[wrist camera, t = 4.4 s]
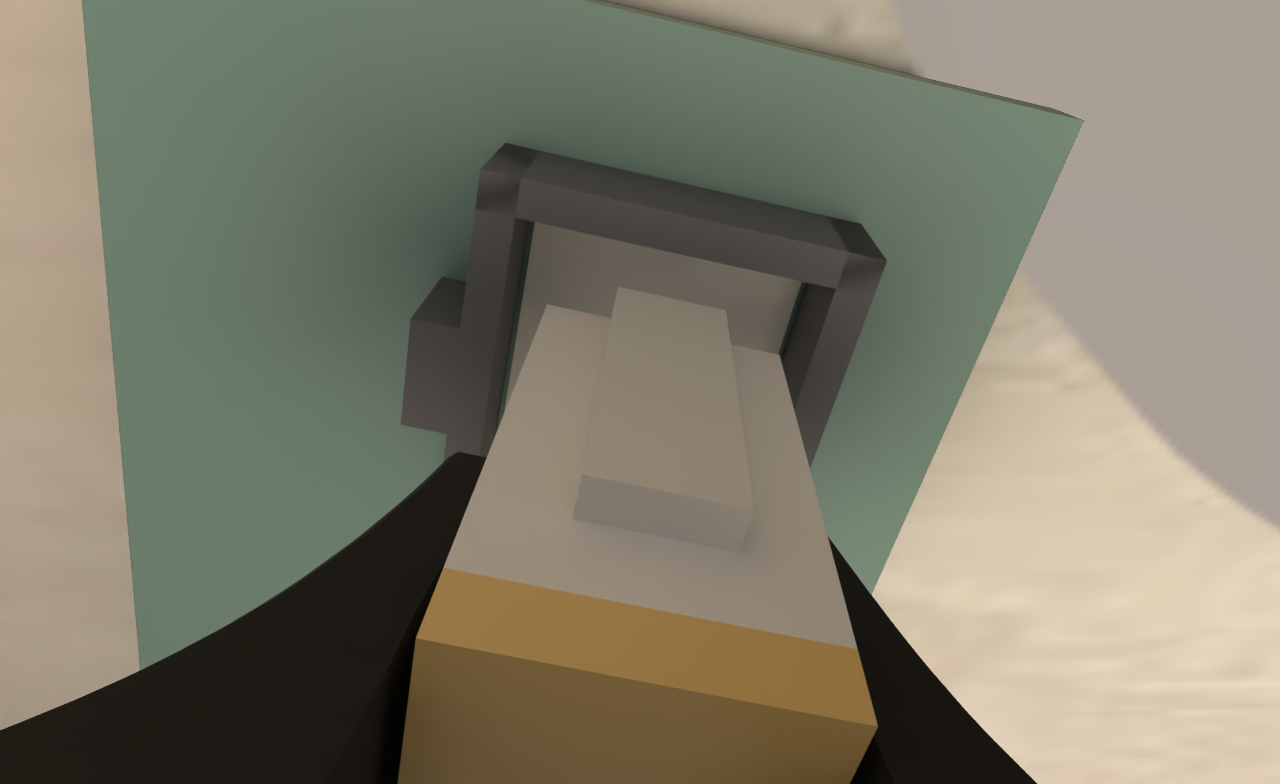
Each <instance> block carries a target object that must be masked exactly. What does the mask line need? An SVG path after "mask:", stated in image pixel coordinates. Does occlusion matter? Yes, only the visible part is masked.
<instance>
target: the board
mask: <svg viewBox="0 0 1280 784" xmlns="http://www.w3.org/2000/svg"><path fill="white" fill-rule="evenodd" d="M82 7H83V18H84V30H85V41H86V53H87V64H88V75H89V87H90V98H91V110H92V121H93V133H94V144H95V156H96V167H97V179H98V190H99V201H100V213H101V224H102V236H103V247H104V259H105V270H106V282H107V293H108V305H109V316H110V327H111V339H112V350H113V362H114V373H115V385H116V396H117V408H118V419H119V431H120V442H121V453H122V465H123V476H124V488H125V499H126V511H127V522H128V534H129V545H130V556H131V568H132V579H133V591H134V602H135V614H136V625H137V637H138V648H139V660H140V670H142V669H144V668H146V667H148V666H150V665H152V664H154V663H156V662H158V661H160V660H162V659H164V658H166V657H168V656H170V655H172V654H174V653H176V652H178V651H180V650H182V649H183V648H185V647H187V646H189V645H191V644H193V643H195V642H196V641H198V640H200V639H202V638H204V637H206V636H208V635H210V634H211V633H213V632H215V631H217V630H219V629H221V628H222V627H224V626H226V625H228V624H229V623H231V622H233V621H235V620H236V619H238V618H240V617H241V616H243V615H245V614H246V613H248V612H250V611H251V610H253V609H255V608H256V607H258V606H260V605H261V604H263V603H265V602H266V601H268V600H269V599H271V598H272V597H274V596H276V595H277V594H279V593H280V592H282V591H283V590H285V589H286V588H288V587H289V586H291V585H292V584H294V583H295V582H297V581H298V580H300V579H301V578H303V577H304V576H306V575H307V574H308V573H310V572H311V571H313V570H314V569H315V568H317V567H318V566H320V565H321V564H322V563H324V562H325V561H326V560H328V559H329V558H331V557H332V556H333V555H335V554H336V553H337V552H339V551H340V550H342V549H343V548H344V547H346V546H347V545H349V544H350V543H351V542H353V541H354V540H355V539H356V538H358V537H359V536H360V535H362V534H363V533H364V532H365V531H366V530H368V529H369V528H370V527H371V526H372V525H374V524H375V523H376V522H377V521H379V520H380V519H381V518H382V517H383V516H385V515H386V514H387V513H388V512H390V511H391V510H392V509H393V508H394V507H396V506H397V505H398V504H399V503H400V502H401V501H402V500H404V499H405V498H406V497H407V496H408V495H409V494H410V493H411V492H413V491H414V490H415V489H416V488H417V487H418V486H419V485H420V484H421V483H423V482H424V481H425V480H426V479H427V478H428V477H429V476H430V475H431V474H432V473H433V472H434V471H435V470H436V469H437V468H438V467H439V466H440V465H441V464H442V463H443V462H444V461H445V460H446V459H447V458H448V457H450V456H451V455H453V454H455V453H457V452H463V453H467V454H472V455H477V456H482V457H487V456H488V453H489V451H490V448H491V446H492V443H493V440H494V438H495V435H496V433H497V430H498V428H499V425H500V423H501V420H502V418H503V415H504V413H505V410H506V407H507V405H508V402H509V400H510V397H511V395H512V392H513V390H514V387H515V385H516V382H517V379H518V377H519V374H520V372H521V369H522V367H523V364H524V362H525V359H526V357H527V354H528V351H529V349H530V346H531V344H532V341H533V339H534V336H535V334H536V331H537V329H538V326H539V323H540V321H541V318H542V316H543V313H544V311H545V308H546V306H547V304H548V305H553V306H558V307H562V308H567V309H571V310H576V311H581V312H585V313H590V314H594V315H599V316H603V317H608V318H611V316H612V311H613V306H614V302H615V297H616V293H617V288H618V287H622V288H627V289H632V290H636V291H641V292H645V293H650V294H654V295H659V296H663V297H668V298H672V299H677V300H681V301H686V302H690V303H695V304H700V305H704V306H709V307H713V308H718V309H722V310H726V314H727V321H728V328H729V335H730V342H731V344H732V345H737V346H741V347H746V348H750V349H755V350H759V351H764V352H769V353H773V354H778V355H780V359H781V362H782V366H783V370H784V374H785V377H786V381H787V385H788V389H789V392H790V396H791V400H792V404H793V408H794V411H795V415H796V419H797V423H798V426H799V430H800V434H801V438H802V442H803V445H804V449H805V453H806V457H807V460H808V464H809V468H810V472H811V475H812V479H813V483H814V487H815V491H816V494H817V498H818V502H819V506H820V509H821V513H822V517H823V521H824V525H825V528H826V532H827V536H828V537H829V538H830V540H831V541H832V542H833V544H834V545H835V546H836V548H837V549H838V550H839V552H840V553H841V554H842V556H843V557H844V558H845V560H846V561H847V563H848V564H849V565H850V567H851V568H852V569H853V571H854V572H855V574H856V575H857V576H858V578H859V579H860V580H861V582H862V583H863V584H864V586H865V587H866V588H867V590H868V591H869V592H870V594H872V592H873V590H874V588H875V585H876V583H877V581H878V579H879V576H880V574H881V572H882V570H883V568H884V565H885V563H886V561H887V559H888V556H889V554H890V552H891V550H892V547H893V545H894V543H895V541H896V539H897V536H898V534H899V532H900V530H901V527H902V525H903V523H904V521H905V518H906V516H907V514H908V512H909V510H910V507H911V505H912V503H913V501H914V498H915V496H916V494H917V492H918V489H919V487H920V485H921V483H922V481H923V478H924V476H925V474H926V472H927V469H928V467H929V465H930V463H931V460H932V458H933V456H934V454H935V452H936V449H937V447H938V445H939V443H940V440H941V438H942V436H943V434H944V432H945V429H946V427H947V425H948V423H949V420H950V418H951V416H952V414H953V411H954V409H955V407H956V405H957V403H958V400H959V398H960V396H961V394H962V391H963V389H964V387H965V385H966V382H967V380H968V378H969V376H970V374H971V371H972V369H973V367H974V365H975V362H976V360H977V358H978V356H979V353H980V351H981V349H982V347H983V345H984V342H985V340H986V338H987V336H988V333H989V331H990V329H991V327H992V324H993V322H994V320H995V318H996V316H997V313H998V311H999V309H1000V307H1001V304H1002V302H1003V300H1004V298H1005V295H1006V293H1007V291H1008V289H1009V287H1010V284H1011V282H1012V280H1013V278H1014V275H1015V273H1016V271H1017V269H1018V266H1019V264H1020V262H1021V260H1022V258H1023V255H1024V253H1025V251H1026V249H1027V246H1028V244H1029V242H1030V240H1031V237H1032V235H1033V233H1034V231H1035V229H1036V226H1037V224H1038V222H1039V219H1040V217H1041V215H1042V213H1043V211H1044V208H1045V206H1046V204H1047V202H1048V200H1049V197H1050V195H1051V193H1052V191H1053V188H1054V186H1055V184H1056V182H1057V179H1058V177H1059V175H1060V173H1061V171H1062V168H1063V166H1064V164H1065V162H1066V159H1067V157H1068V155H1069V153H1070V151H1071V148H1072V146H1073V144H1074V141H1075V139H1076V137H1077V135H1078V133H1079V130H1080V128H1081V126H1082V124H1083V121H1084V120H1081V119H1078V118H1076V117H1074V116H1071V115H1068V114H1065V113H1063V112H1061V111H1058V110H1055V109H1052V108H1048V107H1044V106H1040V105H1036V104H1031V103H1027V102H1023V101H1019V100H1015V99H1011V98H1006V97H1002V96H998V95H994V94H990V93H985V92H981V91H977V90H973V89H969V88H965V87H961V86H956V85H952V84H948V83H944V82H940V81H936V80H931V79H927V78H923V77H919V76H915V75H911V74H907V73H902V72H898V71H894V70H890V69H886V68H882V67H877V66H873V65H869V64H865V63H861V62H857V61H852V60H848V59H844V58H840V57H836V56H832V55H827V54H823V53H819V52H815V51H811V50H807V49H802V48H798V47H794V46H790V45H786V44H782V43H777V42H773V41H769V40H765V39H761V38H757V37H752V36H748V35H744V34H740V33H736V32H732V31H728V30H723V29H719V28H715V27H711V26H707V25H703V24H698V23H694V22H690V21H686V20H682V19H678V18H673V17H669V16H665V15H661V14H657V13H653V12H648V11H644V10H640V9H636V8H632V7H628V6H623V5H619V4H615V3H611V2H607V1H603V0H82Z"/></svg>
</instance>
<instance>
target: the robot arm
mask: <svg viewBox="0 0 1280 784" xmlns="http://www.w3.org/2000/svg"><path fill="white" fill-rule="evenodd" d="M486 458H487V457H482V456H477V455H472V454H467V453H463V452H457V453H455V454H453V455H451V456H450V457H448V458H447V459H446V460H445V461H444V462H443V463H442V464H441V465H440V466H439V467H438V468H437V469H436V470H435V471H434V472H433V473H432V474H431V475H430V476H429V477H428V478H427V479H426V480H425V481H424V482H423V483H421V484H420V485H419V486H418V487H417V488H416V489H415V490H414V491H413V492H411V493H410V494H409V495H408V496H407V497H406V498H405V499H404V500H402V501H401V502H400V503H399V504H398V505H397V506H396V507H394V508H393V509H392V510H391V511H390V512H388V513H387V514H386V515H385V516H383V517H382V518H381V519H380V520H379V521H377V522H376V523H375V524H374V525H372V526H371V527H370V528H369V529H368V530H366V531H365V532H364V533H363V534H362V535H360V536H359V537H358V538H356V539H355V540H354V541H353V542H351V543H350V544H349V545H347V546H346V547H344V548H343V549H342V550H340V551H339V552H337V553H336V554H335V555H333V556H332V557H331V558H329V559H328V560H326V561H325V562H324V563H322V564H321V565H320V566H318V567H317V568H315V569H314V570H313V571H311V572H310V573H308V574H307V575H306V576H304V577H303V578H301V579H300V580H298V581H297V582H295V583H294V584H292V585H291V586H289V587H288V588H286V589H285V590H283V591H282V592H280V593H279V594H277V595H276V596H274V597H272V598H271V599H269V600H268V601H266V602H265V603H263V604H261V605H260V606H258V607H256V608H255V609H253V610H251V611H250V612H248V613H246V614H245V615H243V616H241V617H240V618H238V619H236V620H235V621H233V622H231V623H229V624H228V625H226V626H224V627H222V628H221V629H219V630H217V631H215V632H213V633H211V634H210V635H208V636H206V637H204V638H202V639H200V640H198V641H196V642H195V643H193V644H191V645H189V646H187V647H185V648H183V649H182V650H180V651H178V652H176V653H174V654H172V655H170V656H168V657H166V658H164V659H162V660H160V661H158V662H156V663H154V664H152V665H150V666H148V667H146V668H144V669H142V670H140V671H138V672H136V673H134V674H132V675H130V676H128V677H126V678H123V679H121V680H119V681H117V682H115V683H112V684H110V685H108V686H106V687H103V688H101V689H99V690H96V691H94V692H92V693H90V694H87V695H85V696H83V697H81V698H78V699H76V700H74V701H71V702H69V703H67V704H64V705H62V706H59V707H57V708H54V709H52V710H50V711H47V712H45V713H42V714H40V715H37V716H35V717H33V718H30V719H28V720H25V721H23V722H20V723H18V724H15V725H13V726H10V727H8V728H5V729H2V730H0V784H398V777H399V769H400V761H401V753H402V745H403V737H404V729H405V721H406V713H407V705H408V697H409V689H410V681H411V673H412V665H413V657H414V649H415V641H416V636H417V634H418V631H419V629H420V626H421V624H422V621H423V619H424V616H425V613H426V611H427V608H428V606H429V603H430V601H431V598H432V596H433V593H434V591H435V588H436V585H437V583H438V580H439V578H440V575H441V573H442V570H443V568H444V565H445V563H446V560H447V557H448V555H449V552H450V550H451V547H452V545H453V542H454V540H455V537H456V535H457V532H458V530H459V527H460V524H461V522H462V519H463V517H464V514H465V512H466V509H467V507H468V504H469V502H470V499H471V496H472V494H473V491H474V489H475V486H476V484H477V481H478V479H479V476H480V474H481V471H482V468H483V466H484V463H485V461H486ZM828 540H829V543H830V547H831V551H832V555H833V558H834V562H835V566H836V570H837V574H838V577H839V581H840V585H841V589H842V592H843V596H844V600H845V604H846V608H847V611H848V615H849V619H850V623H851V626H852V630H853V634H854V638H855V642H856V645H857V649H858V653H859V657H860V660H861V664H862V668H863V672H864V675H865V679H866V683H867V687H868V691H869V694H870V698H871V702H872V706H873V709H874V713H875V717H876V721H877V725H878V728H877V730H876V732H875V734H874V736H873V738H872V740H871V742H870V744H869V746H868V748H867V750H866V752H865V754H864V756H863V758H862V760H861V762H860V764H859V766H858V768H857V770H856V772H855V774H854V776H853V778H852V780H851V782H850V784H1037V783H1036V782H1035V781H1034V780H1033V779H1032V778H1031V777H1030V776H1029V775H1028V774H1027V773H1026V772H1025V771H1024V770H1023V769H1022V768H1021V767H1020V766H1019V765H1018V764H1017V763H1016V762H1015V761H1014V760H1013V759H1012V758H1011V757H1010V756H1009V755H1008V754H1007V753H1006V752H1005V751H1004V750H1003V749H1002V748H1001V747H1000V746H999V745H998V744H997V743H996V742H995V741H994V740H993V739H992V738H991V737H990V736H989V735H988V734H987V733H986V732H985V731H984V730H983V729H982V728H981V726H980V725H979V724H978V723H977V722H976V721H975V720H974V719H973V718H972V717H971V716H970V715H969V714H968V712H967V711H966V710H965V709H964V708H963V707H962V706H961V705H960V703H959V702H958V701H957V700H956V699H955V698H954V697H953V695H952V694H951V693H950V692H949V691H948V690H947V688H946V687H945V686H944V685H943V684H942V683H941V682H940V680H939V679H938V678H937V677H936V676H935V675H934V674H933V672H932V671H931V670H930V669H929V668H928V666H927V665H926V664H925V663H924V662H923V660H922V659H921V658H920V657H919V656H918V654H917V653H916V652H915V651H914V649H913V648H912V647H911V646H910V644H909V643H908V642H907V641H906V639H905V638H904V637H903V636H902V634H901V633H900V632H899V631H898V629H897V628H896V627H895V625H894V624H893V623H892V622H891V620H890V619H889V618H888V616H887V615H886V614H885V612H884V611H883V610H882V608H881V607H880V606H879V604H878V603H877V602H876V601H875V599H874V598H873V597H872V595H871V594H870V592H869V591H868V590H867V588H866V587H865V586H864V584H863V583H862V582H861V580H860V579H859V578H858V576H857V575H856V574H855V572H854V571H853V569H852V568H851V567H850V565H849V564H848V563H847V561H846V560H845V558H844V557H843V556H842V554H841V553H840V552H839V550H838V549H837V548H836V546H835V545H834V544H833V542H832V541H831V540H830V538H829V537H828Z"/></svg>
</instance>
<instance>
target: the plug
mask: <svg viewBox="0 0 1280 784" xmlns="http://www.w3.org/2000/svg"><path fill="white" fill-rule="evenodd" d="M877 728H878V725H877V721H876V717H875V713H874V709H873V706H872V702H871V698H870V694H869V691H868V687H867V683H866V679H865V675H864V672H863V668H862V664H861V660H860V657H859V653H858V649H857V645H856V642H855V638H854V634H853V630H852V626H851V623H850V619H849V615H848V611H847V608H846V604H845V600H844V596H843V592H842V589H841V585H840V581H839V577H838V574H837V570H836V566H835V562H834V558H833V555H832V551H831V547H830V543H829V540H828V536H827V532H826V528H825V525H824V521H823V517H822V513H821V509H820V506H819V502H818V498H817V494H816V491H815V487H814V483H813V479H812V475H811V472H810V468H809V464H808V460H807V457H806V453H805V449H804V445H803V442H802V438H801V434H800V430H799V426H798V423H797V419H796V415H795V411H794V408H793V404H792V400H791V396H790V392H789V389H788V385H787V381H786V377H785V374H784V370H783V366H782V362H781V359H780V355H778V354H773V353H769V352H764V351H759V350H755V349H750V348H746V347H741V346H737V345H732V344H731V342H730V335H729V328H728V321H727V314H726V310H722V309H718V308H713V307H709V306H704V305H700V304H695V303H690V302H686V301H681V300H677V299H672V298H668V297H663V296H659V295H654V294H650V293H645V292H641V291H636V290H632V289H627V288H622V287H618V288H617V293H616V297H615V302H614V306H613V311H612V316H611V318H608V317H603V316H599V315H594V314H590V313H585V312H581V311H576V310H571V309H567V308H562V307H558V306H553V305H548V304H547V306H546V308H545V311H544V313H543V316H542V318H541V321H540V323H539V326H538V329H537V331H536V334H535V336H534V339H533V341H532V344H531V346H530V349H529V351H528V354H527V357H526V359H525V362H524V364H523V367H522V369H521V372H520V374H519V377H518V379H517V382H516V385H515V387H514V390H513V392H512V395H511V397H510V400H509V402H508V405H507V407H506V410H505V413H504V415H503V418H502V420H501V423H500V425H499V428H498V430H497V433H496V435H495V438H494V440H493V443H492V446H491V448H490V451H489V453H488V456H487V458H486V461H485V463H484V466H483V468H482V471H481V474H480V476H479V479H478V481H477V484H476V486H475V489H474V491H473V494H472V496H471V499H470V502H469V504H468V507H467V509H466V512H465V514H464V517H463V519H462V522H461V524H460V527H459V530H458V532H457V535H456V537H455V540H454V542H453V545H452V547H451V550H450V552H449V555H448V557H447V560H446V563H445V565H444V568H443V570H442V573H441V575H440V578H439V580H438V583H437V585H436V588H435V591H434V593H433V596H432V598H431V601H430V603H429V606H428V608H427V611H426V613H425V616H424V619H423V621H422V624H421V626H420V629H419V631H418V634H417V636H416V641H415V649H414V657H413V665H412V673H411V681H410V689H409V697H408V705H407V713H406V721H405V729H404V737H403V745H402V753H401V761H400V769H399V777H398V784H850V782H851V780H852V778H853V776H854V774H855V772H856V770H857V768H858V766H859V764H860V762H861V760H862V758H863V756H864V754H865V752H866V750H867V748H868V746H869V744H870V742H871V740H872V738H873V736H874V734H875V732H876V730H877Z"/></svg>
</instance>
